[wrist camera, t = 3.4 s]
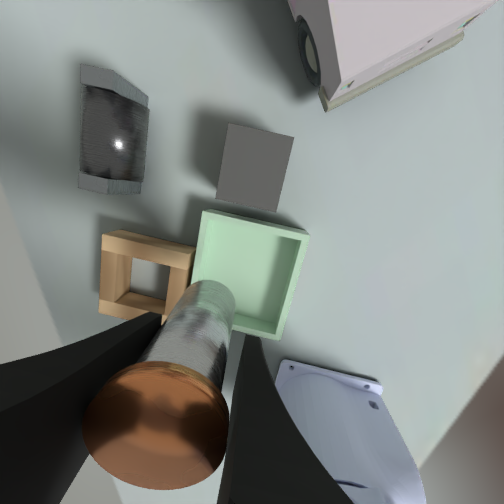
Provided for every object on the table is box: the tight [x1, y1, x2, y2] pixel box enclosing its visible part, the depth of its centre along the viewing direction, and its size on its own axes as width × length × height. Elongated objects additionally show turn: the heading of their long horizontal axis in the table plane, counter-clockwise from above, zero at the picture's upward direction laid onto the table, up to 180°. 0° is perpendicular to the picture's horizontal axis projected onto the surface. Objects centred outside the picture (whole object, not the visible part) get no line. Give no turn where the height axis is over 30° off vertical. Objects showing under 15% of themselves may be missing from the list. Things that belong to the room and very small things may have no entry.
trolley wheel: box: [78, 64, 149, 195], centre depth 17 cm, size 4×7×4 cm, turn 168°
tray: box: [191, 209, 310, 341], centre depth 19 cm, size 8×9×2 cm
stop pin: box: [82, 280, 236, 490], centre depth 10 cm, size 4×4×8 cm
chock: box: [215, 123, 294, 212], centre depth 17 cm, size 4×4×4 cm
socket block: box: [99, 230, 197, 326], centre depth 20 cm, size 7×7×2 cm
